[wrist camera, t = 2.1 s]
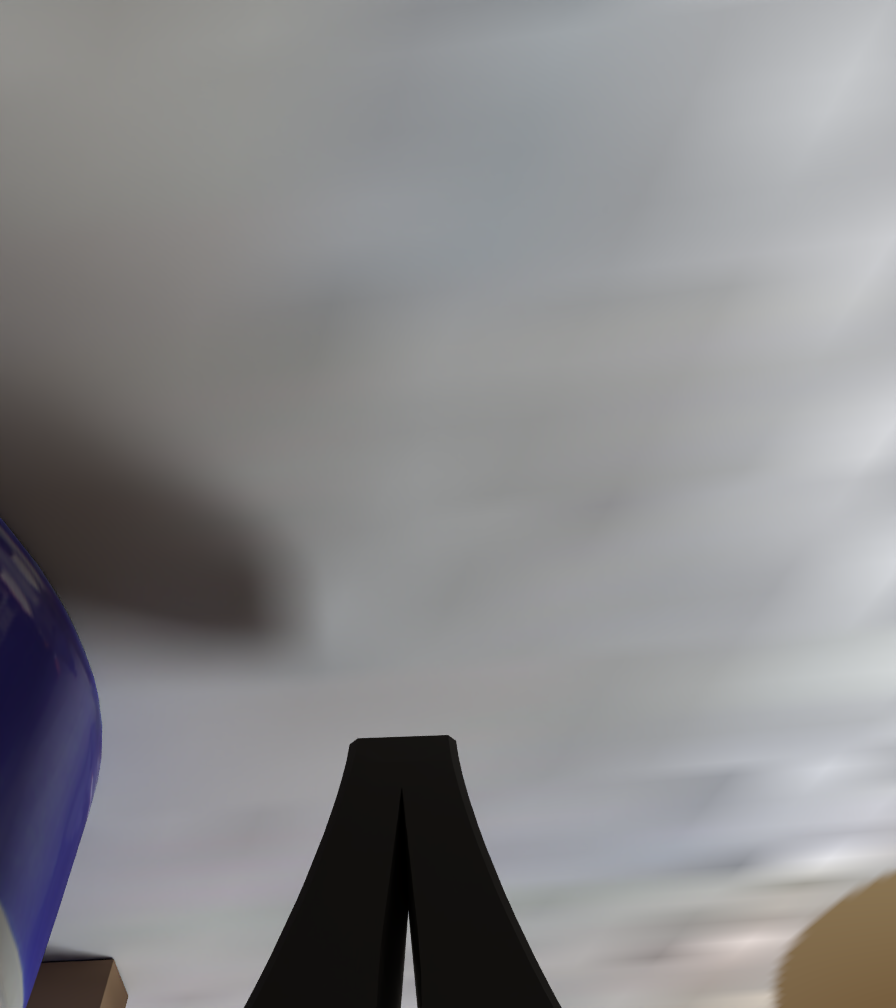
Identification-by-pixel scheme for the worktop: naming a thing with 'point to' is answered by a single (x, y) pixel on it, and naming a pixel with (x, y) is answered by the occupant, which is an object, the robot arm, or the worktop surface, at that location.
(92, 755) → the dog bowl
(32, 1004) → the wooden tray
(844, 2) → the worktop surface
